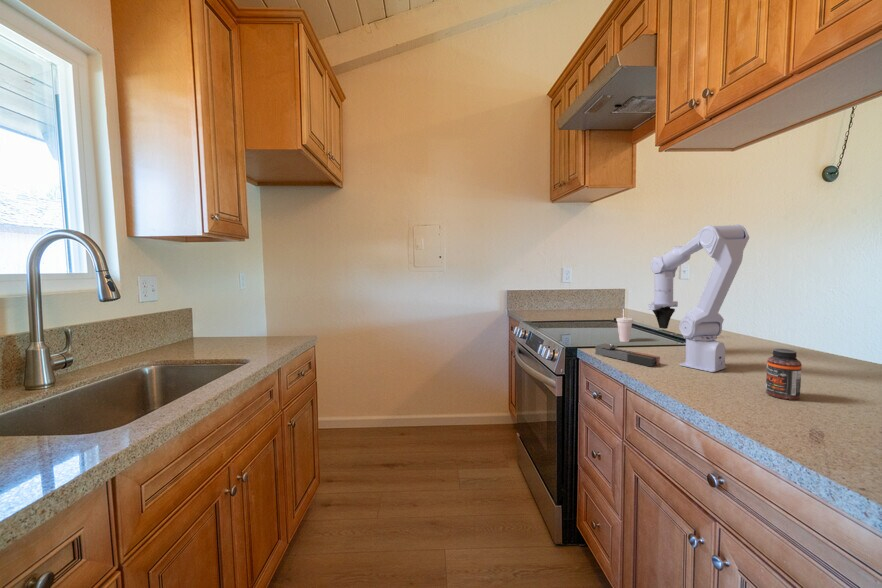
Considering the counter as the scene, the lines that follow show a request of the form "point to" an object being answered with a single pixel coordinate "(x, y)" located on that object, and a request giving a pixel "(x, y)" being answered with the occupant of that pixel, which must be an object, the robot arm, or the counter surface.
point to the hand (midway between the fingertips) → (663, 328)
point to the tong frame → (623, 355)
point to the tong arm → (657, 359)
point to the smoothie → (624, 328)
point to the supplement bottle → (783, 375)
